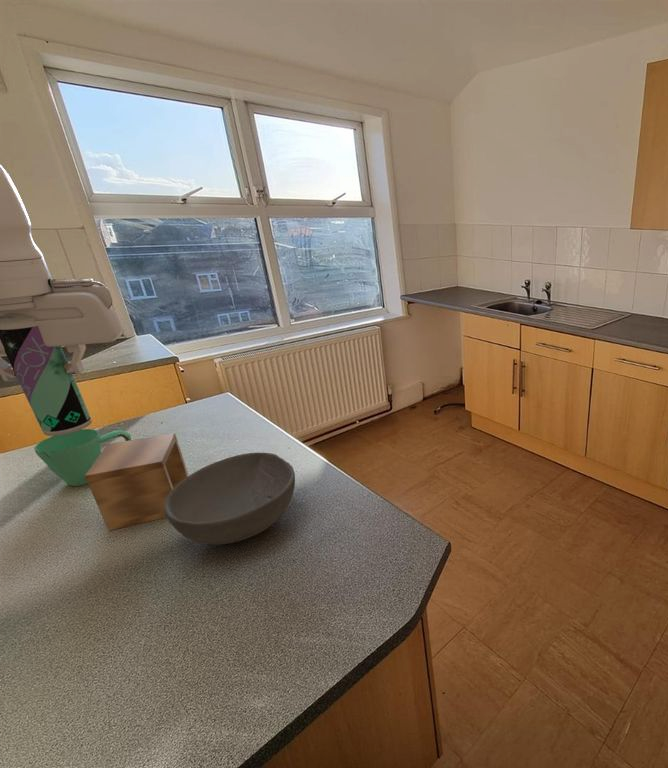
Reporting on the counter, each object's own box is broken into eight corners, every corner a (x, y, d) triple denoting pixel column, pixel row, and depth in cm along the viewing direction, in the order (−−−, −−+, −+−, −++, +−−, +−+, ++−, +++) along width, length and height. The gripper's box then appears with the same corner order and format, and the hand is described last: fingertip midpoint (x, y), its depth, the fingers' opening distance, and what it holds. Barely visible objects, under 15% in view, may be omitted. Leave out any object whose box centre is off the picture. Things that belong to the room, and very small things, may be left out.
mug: (50, 499, 88) (30, 457, 84) (55, 477, 95) (37, 437, 91) (142, 473, 97) (127, 434, 93) (140, 455, 104) (127, 418, 100)
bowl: (151, 548, 76) (133, 502, 72) (251, 484, 94) (241, 444, 90) (234, 581, 70) (219, 532, 66) (325, 505, 88) (317, 464, 84)
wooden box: (108, 530, 80) (84, 475, 75) (127, 494, 90) (107, 443, 85) (180, 514, 84) (161, 461, 80) (190, 481, 94) (174, 432, 90)
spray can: (42, 426, 66) (-18, 298, 59) (90, 415, 70) (39, 293, 62) (43, 439, 63) (-20, 305, 55) (93, 427, 67) (40, 299, 59)
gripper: (112, 274, 65) (140, 361, 70) (-88, 281, 56) (-39, 378, 62) (96, 281, 60) (128, 373, 65) (-126, 289, 51) (-69, 395, 56)
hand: (45, 376), depth 63 cm, fingers closed on spray can, 5 cm apart
